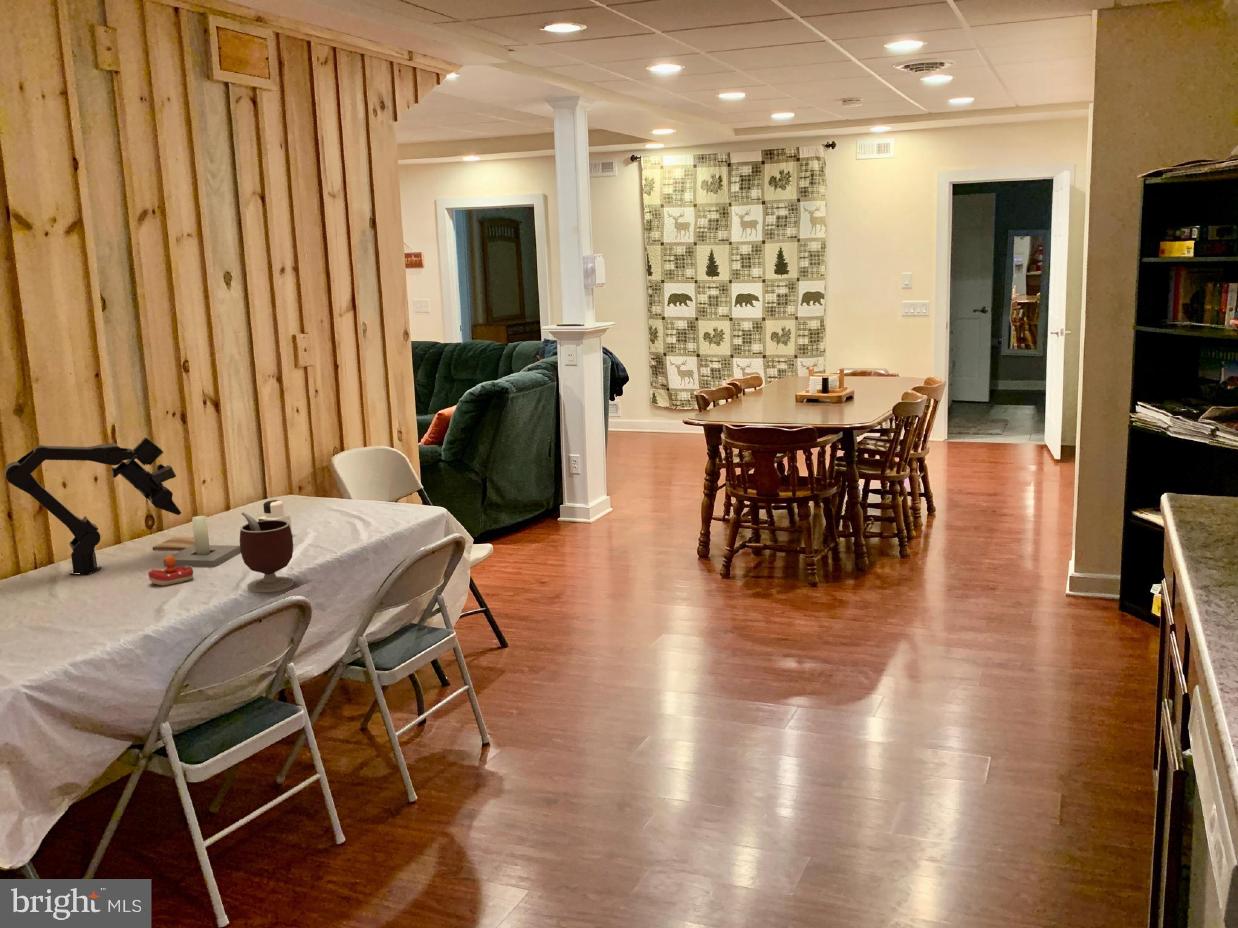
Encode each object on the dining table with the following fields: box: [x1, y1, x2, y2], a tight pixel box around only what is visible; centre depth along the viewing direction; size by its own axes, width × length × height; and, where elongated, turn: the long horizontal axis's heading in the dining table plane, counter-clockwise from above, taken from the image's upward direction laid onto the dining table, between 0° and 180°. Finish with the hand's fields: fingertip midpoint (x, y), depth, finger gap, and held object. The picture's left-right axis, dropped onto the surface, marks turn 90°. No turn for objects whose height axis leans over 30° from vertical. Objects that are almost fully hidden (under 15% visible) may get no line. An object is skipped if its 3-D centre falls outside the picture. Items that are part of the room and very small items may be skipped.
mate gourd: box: [239, 512, 295, 593], centre depth 295 cm, size 16×14×20 cm
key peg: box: [191, 515, 210, 555], centre depth 324 cm, size 4×4×13 cm
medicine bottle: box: [258, 499, 293, 534], centre depth 346 cm, size 7×7×12 cm
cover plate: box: [163, 544, 241, 568], centre depth 325 cm, size 16×16×2 cm
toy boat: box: [148, 555, 194, 587], centre depth 302 cm, size 8×12×8 cm, turn 129°
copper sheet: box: [152, 536, 195, 552], centre depth 341 cm, size 12×12×1 cm
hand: (176, 511), depth 327 cm, fingers open, 9 cm apart
